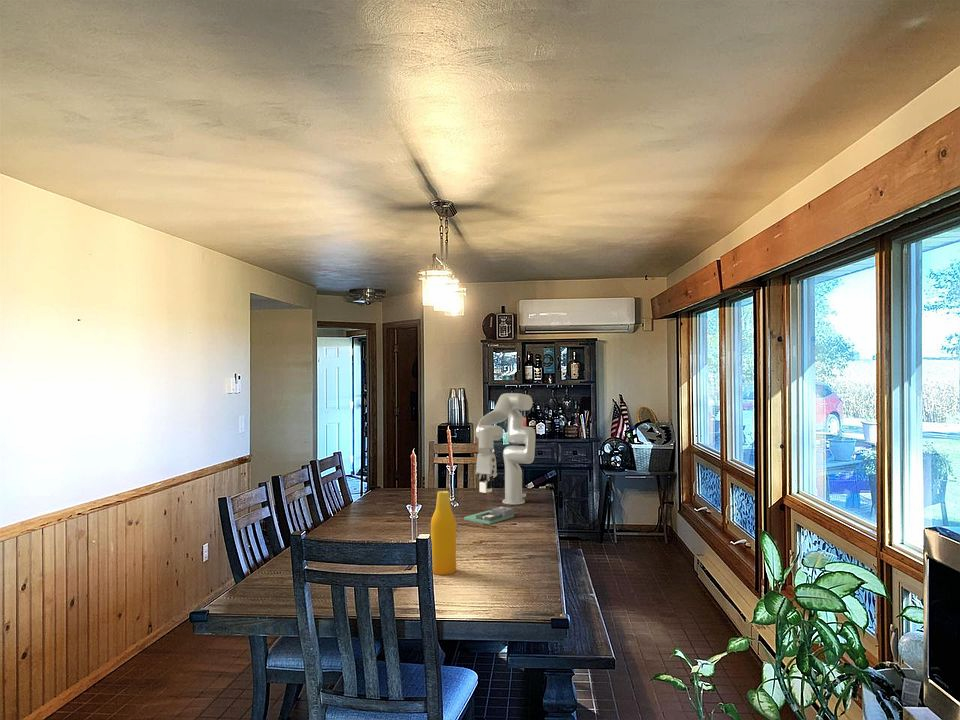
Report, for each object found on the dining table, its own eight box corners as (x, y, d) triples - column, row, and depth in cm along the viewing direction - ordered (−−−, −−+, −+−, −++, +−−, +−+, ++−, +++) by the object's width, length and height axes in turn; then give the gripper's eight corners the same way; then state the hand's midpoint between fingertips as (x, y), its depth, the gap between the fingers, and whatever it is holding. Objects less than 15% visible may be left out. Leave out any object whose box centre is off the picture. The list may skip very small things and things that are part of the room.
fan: (501, 512, 326) (501, 505, 327) (514, 514, 321) (514, 507, 321) (491, 515, 320) (491, 507, 320) (504, 517, 315) (504, 510, 315)
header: (488, 515, 320) (488, 511, 320) (501, 517, 315) (501, 514, 315) (476, 518, 313) (476, 515, 313) (489, 521, 307) (489, 517, 307)
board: (489, 512, 332) (489, 510, 332) (514, 516, 321) (514, 514, 321) (464, 519, 316) (464, 517, 316) (489, 524, 306) (489, 521, 306)
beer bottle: (442, 566, 240) (442, 488, 241) (461, 570, 234) (461, 491, 235) (425, 572, 233) (425, 492, 234) (444, 577, 227) (444, 495, 228)
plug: (485, 490, 324) (485, 479, 324) (492, 491, 321) (491, 480, 321) (479, 491, 320) (479, 481, 320) (485, 492, 317) (485, 481, 317)
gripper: (503, 451, 319) (503, 488, 318) (478, 449, 329) (478, 485, 329) (494, 453, 313) (494, 490, 312) (468, 450, 324) (468, 487, 323)
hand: (485, 487), depth 320 cm, fingers closed on plug, 4 cm apart
